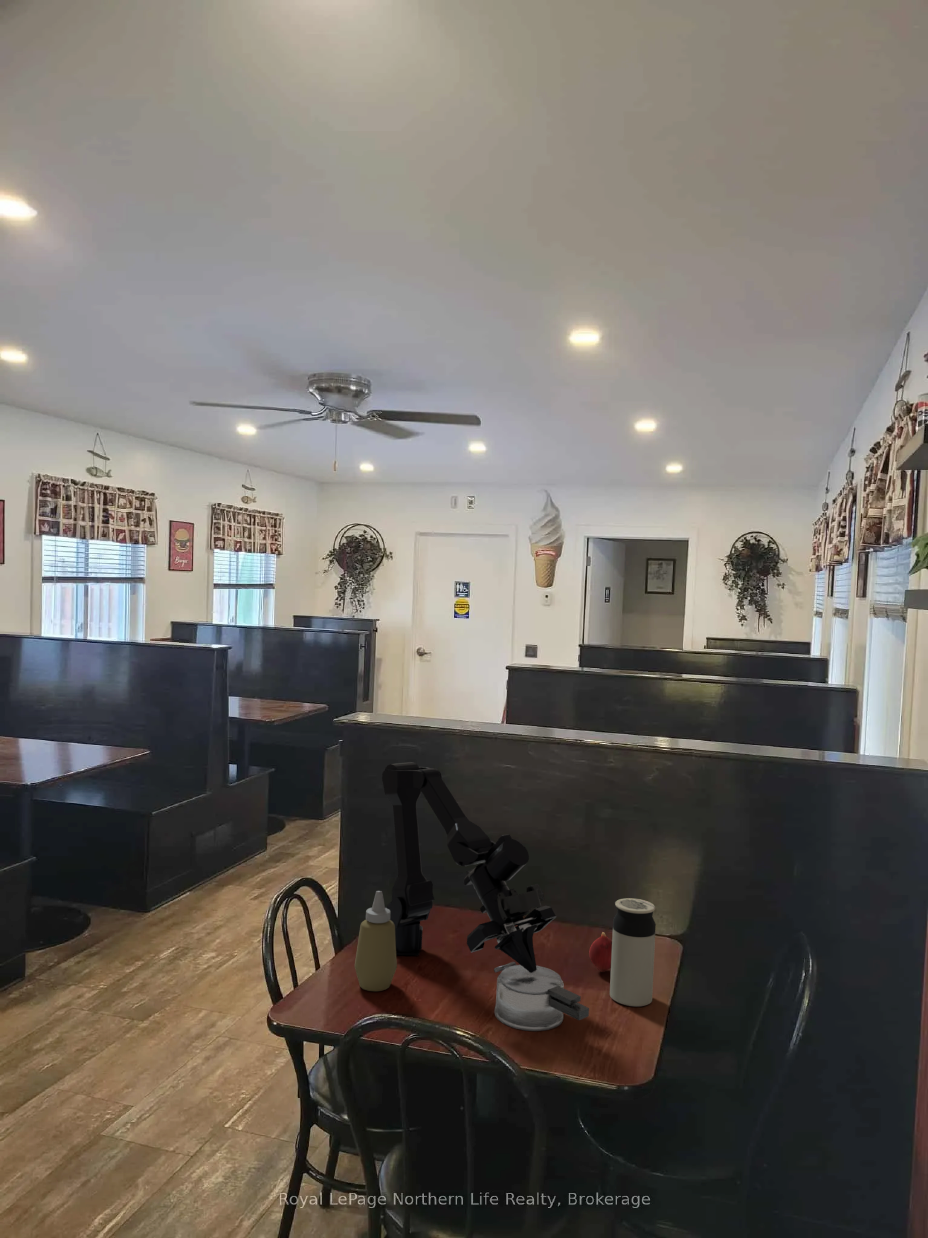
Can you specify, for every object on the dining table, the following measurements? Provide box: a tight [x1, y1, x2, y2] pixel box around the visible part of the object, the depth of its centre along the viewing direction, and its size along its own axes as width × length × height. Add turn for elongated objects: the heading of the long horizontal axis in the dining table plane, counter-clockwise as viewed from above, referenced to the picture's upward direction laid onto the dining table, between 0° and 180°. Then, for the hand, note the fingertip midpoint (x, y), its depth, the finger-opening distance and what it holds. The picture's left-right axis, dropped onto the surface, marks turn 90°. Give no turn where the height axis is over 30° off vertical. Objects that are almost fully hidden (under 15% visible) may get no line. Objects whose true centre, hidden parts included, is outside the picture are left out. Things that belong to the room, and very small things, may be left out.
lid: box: [493, 961, 582, 1005], centre depth 152 cm, size 18×11×1 cm, turn 42°
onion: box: [588, 931, 612, 973], centre depth 174 cm, size 6×6×8 cm
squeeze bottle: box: [354, 890, 398, 992], centre depth 163 cm, size 8×8×18 cm
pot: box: [494, 973, 590, 1032], centre depth 151 cm, size 19×12×6 cm, turn 42°
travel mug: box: [609, 897, 657, 1008], centre depth 162 cm, size 8×8×18 cm
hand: (534, 971), depth 153 cm, fingers closed
